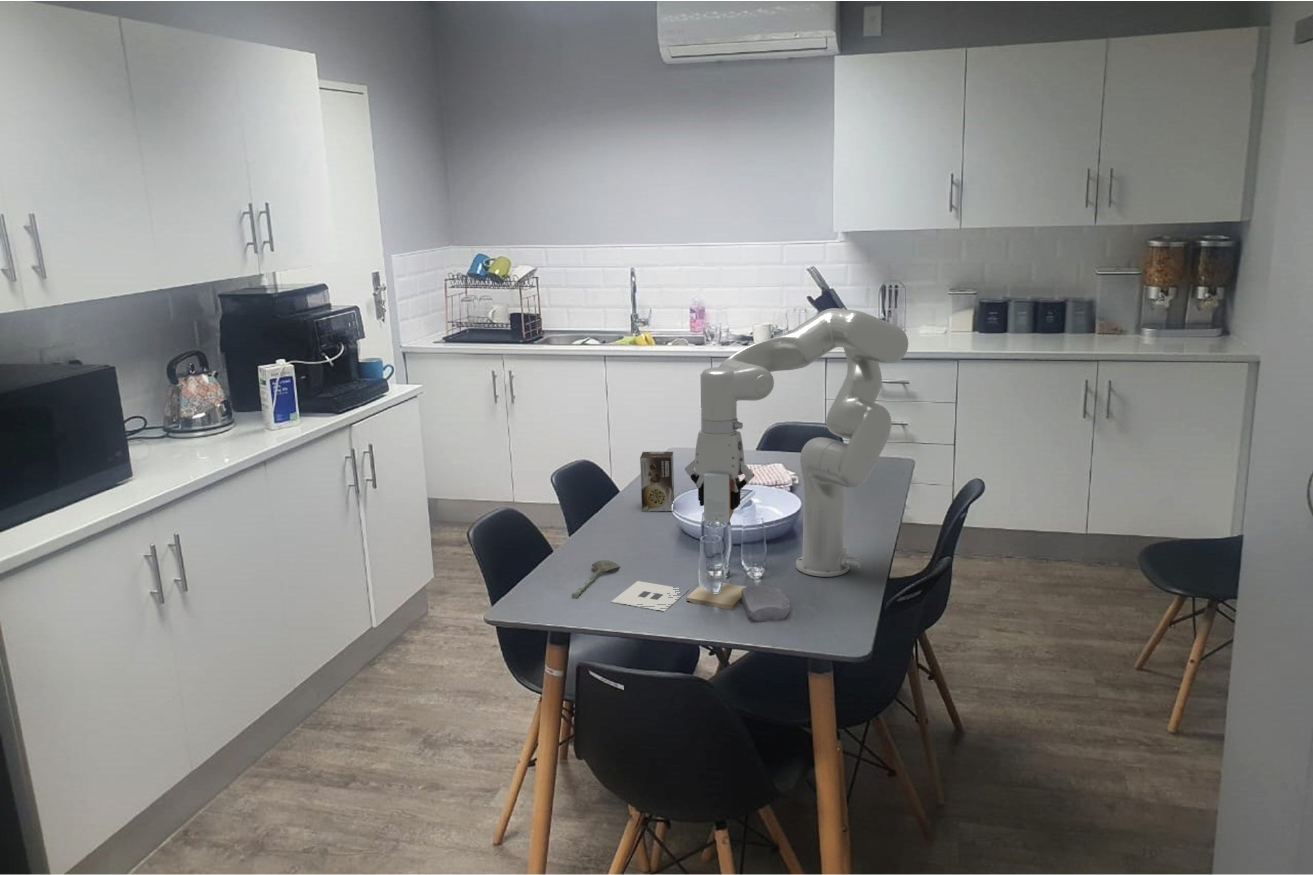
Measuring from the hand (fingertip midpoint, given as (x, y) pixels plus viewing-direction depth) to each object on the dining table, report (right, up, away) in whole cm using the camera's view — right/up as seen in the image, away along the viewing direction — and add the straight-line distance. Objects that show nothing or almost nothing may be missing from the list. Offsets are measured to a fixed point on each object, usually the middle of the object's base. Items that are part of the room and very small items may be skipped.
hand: (719, 505), depth 214 cm
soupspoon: (-28, -19, +16) cm, 38 cm away
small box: (0, -3, +1) cm, 3 cm away
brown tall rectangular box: (-13, -6, +67) cm, 69 cm away
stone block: (+10, -23, -2) cm, 25 cm away
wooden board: (0, -21, +5) cm, 21 cm away
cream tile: (-15, -21, +6) cm, 26 cm away
